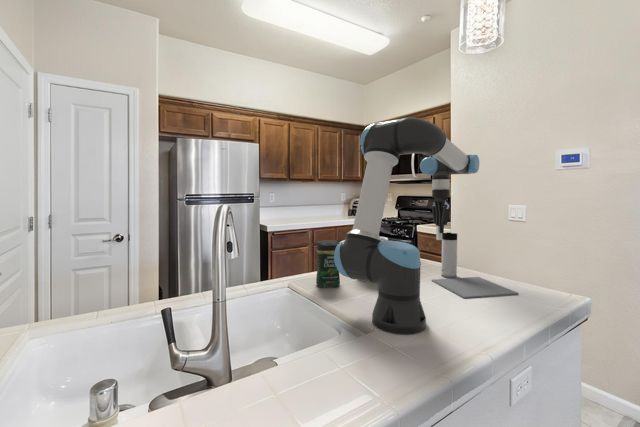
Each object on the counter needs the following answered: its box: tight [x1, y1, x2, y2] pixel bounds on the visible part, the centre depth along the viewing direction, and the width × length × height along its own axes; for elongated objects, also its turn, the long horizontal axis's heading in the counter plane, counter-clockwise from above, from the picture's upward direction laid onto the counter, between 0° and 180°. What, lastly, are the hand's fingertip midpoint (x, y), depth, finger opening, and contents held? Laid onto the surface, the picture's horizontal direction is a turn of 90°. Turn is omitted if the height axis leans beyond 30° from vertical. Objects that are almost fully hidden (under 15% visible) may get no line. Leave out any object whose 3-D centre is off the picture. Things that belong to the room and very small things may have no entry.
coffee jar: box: [315, 239, 341, 288], centre depth 128 cm, size 10×8×19 cm
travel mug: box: [440, 231, 458, 279], centre depth 139 cm, size 6×7×20 cm
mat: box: [431, 276, 519, 299], centre depth 124 cm, size 22×22×1 cm
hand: (439, 239), depth 146 cm, fingers closed
